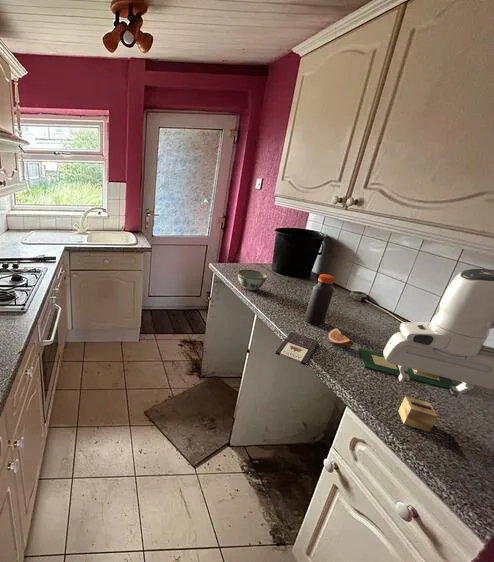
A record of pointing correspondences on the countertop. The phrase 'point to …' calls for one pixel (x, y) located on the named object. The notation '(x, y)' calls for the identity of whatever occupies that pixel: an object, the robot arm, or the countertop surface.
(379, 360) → the word mat
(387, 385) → the countertop surface
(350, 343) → the fruit slice
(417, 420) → the light wooden cube
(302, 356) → the chocolate bar
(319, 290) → the bottle
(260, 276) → the bowl
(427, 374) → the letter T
